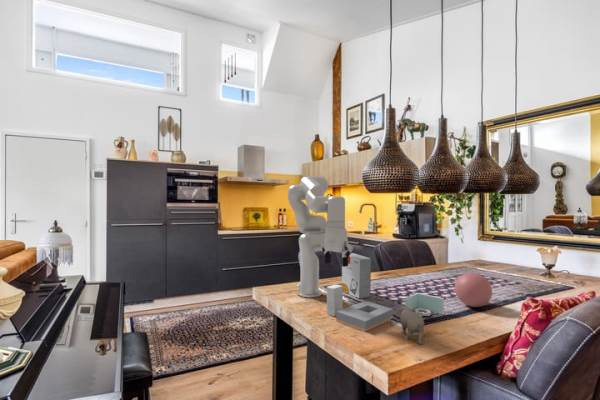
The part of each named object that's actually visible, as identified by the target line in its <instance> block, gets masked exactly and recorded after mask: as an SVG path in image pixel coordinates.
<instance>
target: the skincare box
mask: <svg viewBox="0 0 600 400" xmlns="http://www.w3.org/2000/svg"><path fill="white" fill-rule="evenodd" d="M343 292H344V291H343V286H342V285H340V284H332V285H329V286H327V287H326V315H328V316H331V317H336V312H337V311H339V310H342V309H344V308H343V305H344V304H343V299H344V296H343V295H344V294H343Z"/></svg>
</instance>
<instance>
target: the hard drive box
mask: <svg viewBox="0 0 600 400" xmlns="http://www.w3.org/2000/svg"><path fill="white" fill-rule="evenodd" d="M341 255H342V254H341ZM342 257H344V256H343V255H342V256H341V258H342ZM371 265H372V258H371V257H367V256H364V255H361V254H358V253H354V252H352V253H351V254H350V256H349V257H348V266H345V267H343V266H342V265H341V286H343V292H344V293H345V294H349V295H350V296H351V297H352V296H353V297H354V298H356V297H357V299H358V298H361V299H365V298H366V297H367V298H371V286H372V284H371V280H372V279H371V277H372V276H371V274H372V273H371V272H372V266H371Z"/></svg>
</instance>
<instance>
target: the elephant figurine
mask: <svg viewBox="0 0 600 400" xmlns="http://www.w3.org/2000/svg"><path fill="white" fill-rule="evenodd" d="M414 310H415V308H412V309H409V308H407V306H406V308H405V307H404V309H403V310H402V311H401V312H400V314H399V319H400V322H401V329H402V331H400V333H401V334H402V335H405V334H406V335H405V336H404V339H406V340H411V338H412V337H413V335H414V334H417V335H418V339H417V342H416V344H417V345H419V346H420V345H422V346H423V344H424V343H423V341H422V337H423V334H424V331H425V321H424V319H423V317H421V316H420V315H419V312H418V313H416V312H415V311H414ZM406 330H407V331H406Z"/></svg>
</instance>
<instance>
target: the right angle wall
mask: <svg viewBox="0 0 600 400" xmlns="http://www.w3.org/2000/svg"><path fill="white" fill-rule="evenodd" d="M444 299H445V298H444V297H439V296H434V295H429V294H425V293H420V292H415V293H414V294H413V293H412V294H411V295H409V296H407V297H405V298H404V309H405V308H406V306H407V308H409V309H412V308H415V310H414V311H413V312H416V313H418V312H419V315H421V316H430V315H431V316H432V313H433V312H434V314H437V313H439V314H438V315H441V314H442V315H443V316H444V309H445V308H444V304H445V302H444V301H445V300H444ZM423 312H424V313H423ZM442 315H441V316H442Z"/></svg>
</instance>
